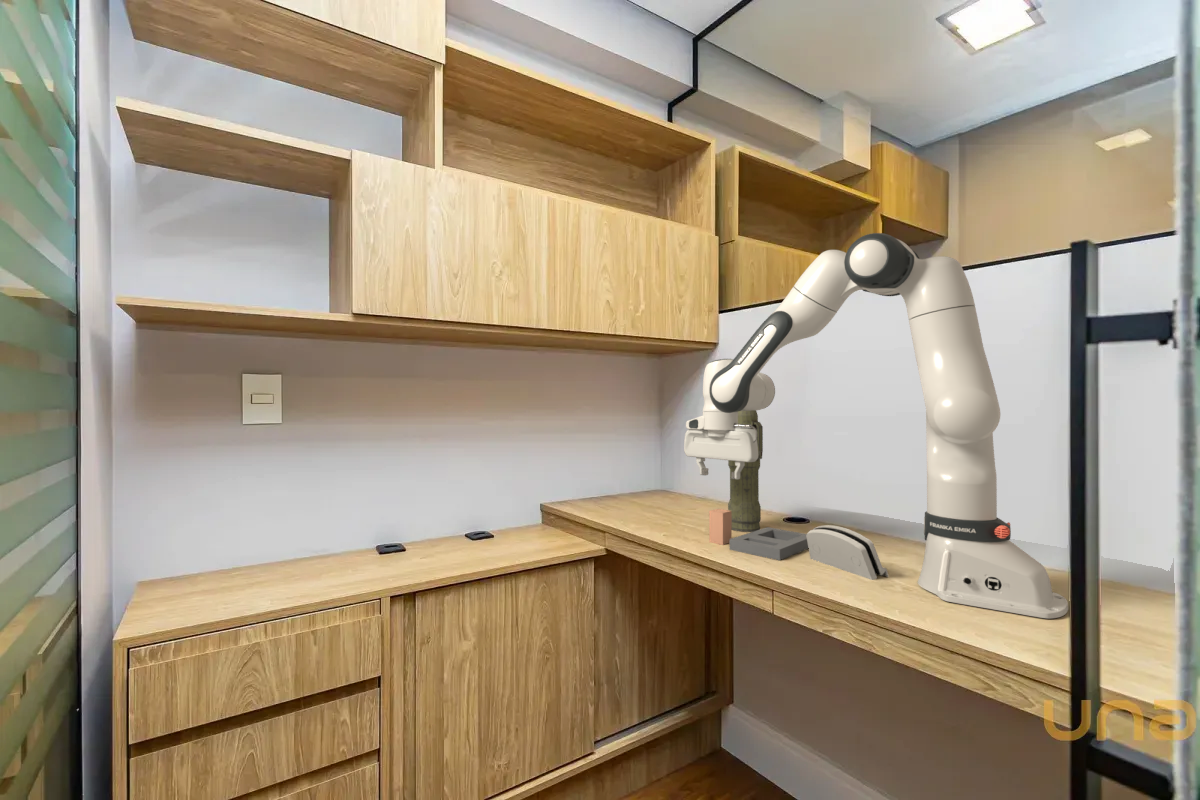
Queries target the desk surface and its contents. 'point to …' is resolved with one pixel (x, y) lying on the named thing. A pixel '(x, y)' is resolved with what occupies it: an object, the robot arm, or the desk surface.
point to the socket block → (770, 543)
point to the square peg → (720, 526)
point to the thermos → (746, 483)
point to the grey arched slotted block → (845, 551)
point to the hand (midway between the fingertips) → (719, 477)
